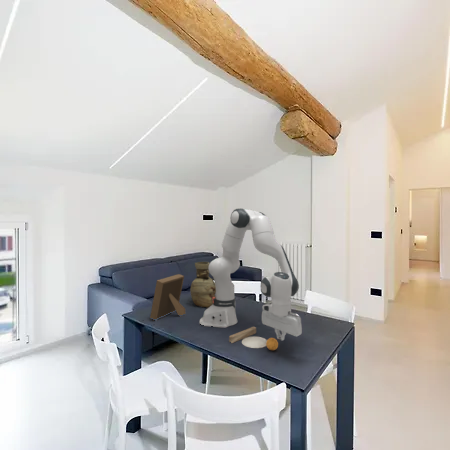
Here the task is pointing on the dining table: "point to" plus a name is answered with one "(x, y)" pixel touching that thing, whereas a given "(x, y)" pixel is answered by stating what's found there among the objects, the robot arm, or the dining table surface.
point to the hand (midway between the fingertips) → (280, 339)
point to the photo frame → (167, 296)
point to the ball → (272, 344)
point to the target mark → (254, 342)
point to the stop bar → (242, 334)
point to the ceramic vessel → (203, 286)
